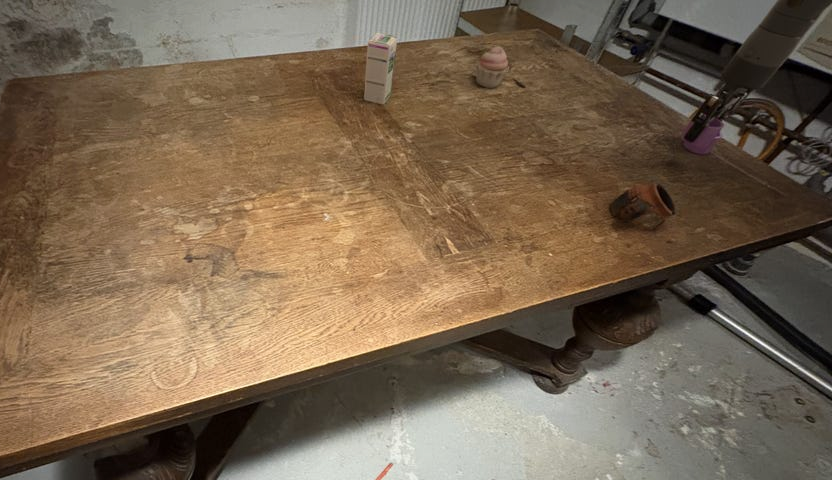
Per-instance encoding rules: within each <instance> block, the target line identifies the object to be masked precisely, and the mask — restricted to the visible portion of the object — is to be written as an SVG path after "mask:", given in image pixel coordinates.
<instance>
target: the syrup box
mask: <svg viewBox="0 0 832 480" xmlns="http://www.w3.org/2000/svg"><path fill="white" fill-rule="evenodd" d="M397 45H398V37H397V36H394V35H391V34H387V33H382V32H381V33H379V32H375V34H374V35H373V36H372V37H370V39H369V40H368V41H367V47H366V60H365V61H366V63H365V76H364V91H363V100H364V101H366V102H369V103H373V104H378V105H382V106H384V105H385V104H386V103H387V101H388V100H389V98H390V97H391V95H392V87H393V78H394V70H395V69H394V68H395V64H396V63H395V62H396V61H395V60H396V53H397Z"/></svg>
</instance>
